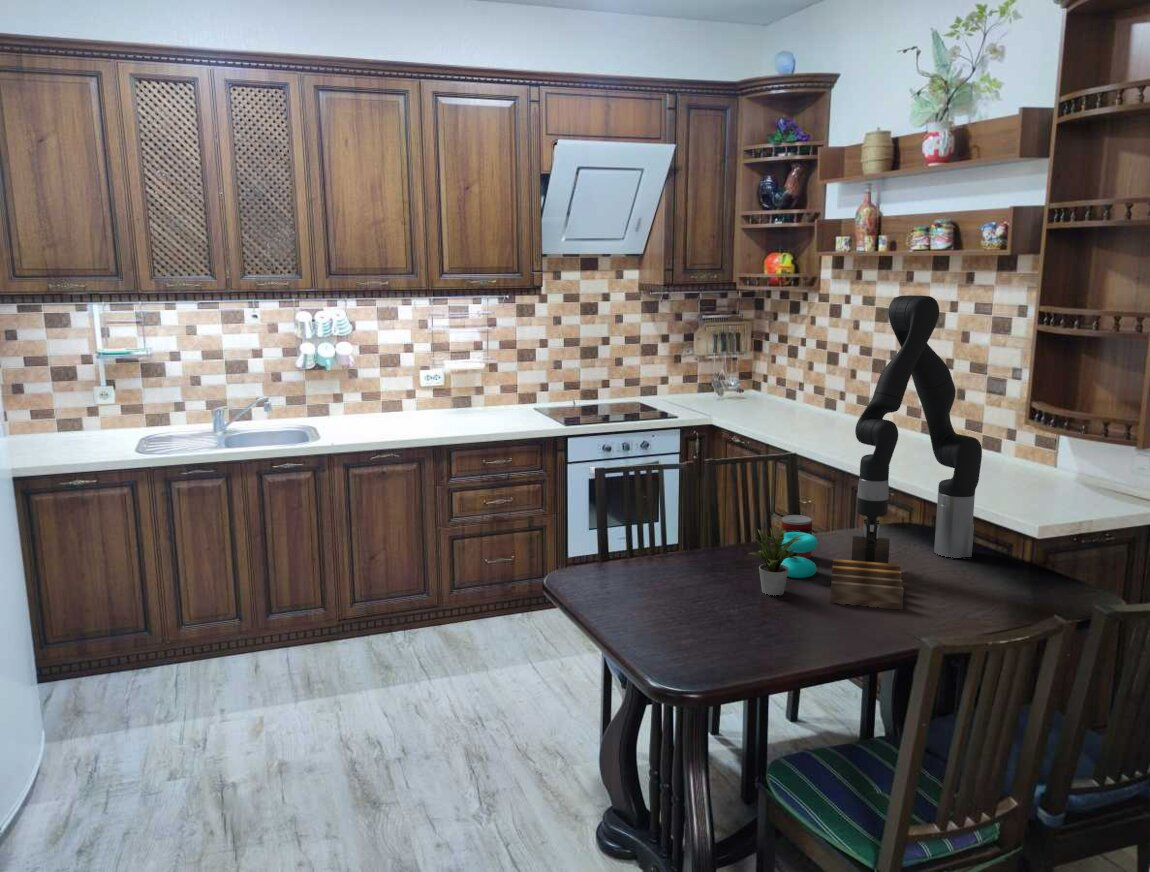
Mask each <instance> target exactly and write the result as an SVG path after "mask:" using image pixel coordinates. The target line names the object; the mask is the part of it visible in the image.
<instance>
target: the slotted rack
mask: <svg viewBox="0 0 1150 872" xmlns="http://www.w3.org/2000/svg"><path fill="white" fill-rule="evenodd" d="M831 570H832V573H831V582H830V583H831V586H830V604H834V603H839V604H838V605H845V604H851V605H850V606H856V605H861V606H860V607H866V606H869V607H868V608H877V607H879V608H878V609H889V610H898V609H900V611H902V610H903V604H904V603H903V602H904V590H905V589H904V587H903V579H902V571H901V564H898V563H889V562H888V563H877V562H864V561H852V559H851V560H849V559H839V558H836V559H835V558H833V559H832V569H831Z"/></svg>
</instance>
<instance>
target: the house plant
mask: <svg viewBox="0 0 1150 872" xmlns="http://www.w3.org/2000/svg"><path fill="white" fill-rule="evenodd" d="M756 530H757V531H758V534H759V537H760V539H761V542H760V541H759V540H758V539H757V538H755V537H753V536H751V538H752V539H753V540H754V541H755V542H756V543H757V544H758V546H759V547H760V548H761V550H757V552H755V551H751V552H748V555H751V556H752V555H753V556H757V557H760V558H761V559H762V560H763V561H764V562H765V563H763V564H760V565H759V566H758V571H759V578H760V584H761V592H762V593H763V594H764V593H765V594H764V595H766V594H768V595H767V596H770V595H773V596H772V597H777V596H776V595H779V596H782V595H784V593H785V588H786V583H787V578H788V577H787V574H788V567H787V566H785V565H784V564H785V563H784V564H783V565H782V564H781V563H782V562H783V561H784V559H786V558H793V559H796V560H798V559H797V557H792V556H790V555H793V554H794V553H792V551H794V550H796V549H793V550H791V551H789V552H787V553H785V552H786V551H788V550H787V549H788V547H792V546H790V545H791V544H792V543H793V542H797V541H800V539H797V538H798V537H801V536H804V535H801V536H797V537H795V538H793V539H791V540H790V541H789V542H788V543H785V544H782V542H783V540H784V533H785V530H784V531H783V527H782V526H781V530H780V532H779V534H778V537H777V539H776V538H775V535H774V532H773V529H772V528H771V527H769V530H770V536H769V537H768V538H769V539H770V541H771V542H770V545H769V543H768V539H767V537H766V535H765V534H764V533H763V532H762V530H760V529H758V528H756ZM795 539H796V540H795ZM781 544H782V545H781ZM784 545H785V546H784ZM782 546H784V547H783V548H782V550H781V547H782ZM785 548H786V549H785ZM784 553H785V554H784ZM781 554H782V555H781ZM788 561H789V560H788ZM788 561H787V562H788ZM774 595H775V596H774Z"/></svg>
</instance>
